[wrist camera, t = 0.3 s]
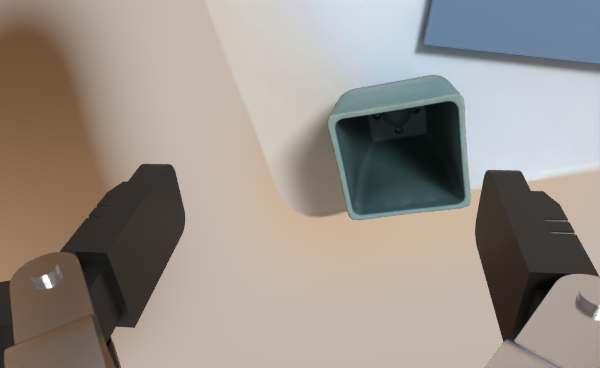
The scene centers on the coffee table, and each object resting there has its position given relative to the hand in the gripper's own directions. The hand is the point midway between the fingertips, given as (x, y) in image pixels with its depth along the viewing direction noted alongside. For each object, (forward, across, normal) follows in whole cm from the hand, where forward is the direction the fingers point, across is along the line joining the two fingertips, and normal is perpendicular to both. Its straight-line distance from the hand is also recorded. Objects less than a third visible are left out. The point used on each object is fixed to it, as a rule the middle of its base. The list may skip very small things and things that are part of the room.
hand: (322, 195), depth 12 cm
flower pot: (+28, -4, +10) cm, 30 cm away
